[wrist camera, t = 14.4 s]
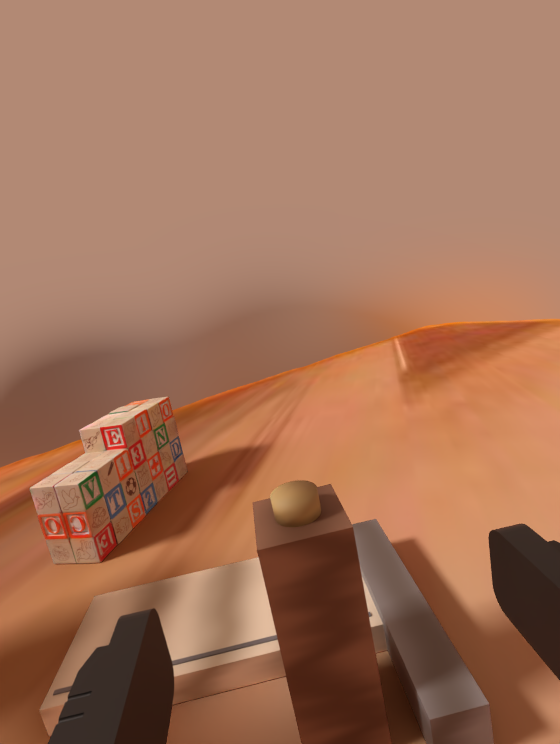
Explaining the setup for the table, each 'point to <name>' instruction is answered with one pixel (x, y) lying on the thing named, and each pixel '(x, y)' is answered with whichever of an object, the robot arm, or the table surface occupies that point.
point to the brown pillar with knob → (320, 615)
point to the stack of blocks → (110, 481)
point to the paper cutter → (261, 648)
